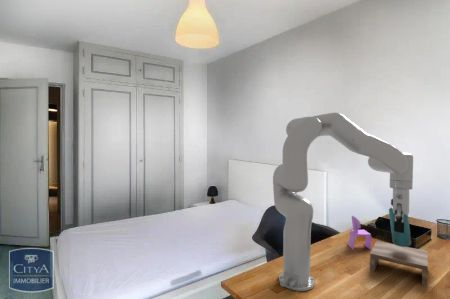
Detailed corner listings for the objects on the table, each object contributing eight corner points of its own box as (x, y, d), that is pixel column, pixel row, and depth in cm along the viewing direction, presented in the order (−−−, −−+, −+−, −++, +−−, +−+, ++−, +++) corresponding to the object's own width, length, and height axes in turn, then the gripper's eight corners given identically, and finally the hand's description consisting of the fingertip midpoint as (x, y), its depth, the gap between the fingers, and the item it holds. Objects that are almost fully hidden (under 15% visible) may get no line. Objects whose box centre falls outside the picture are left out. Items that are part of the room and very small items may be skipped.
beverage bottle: (414, 250, 103) (410, 201, 100) (395, 251, 105) (390, 203, 102) (408, 241, 109) (403, 195, 106) (389, 242, 111) (384, 197, 108)
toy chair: (373, 250, 124) (373, 218, 123) (354, 250, 124) (354, 218, 124) (364, 243, 132) (365, 213, 132) (346, 243, 133) (347, 213, 132)
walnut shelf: (427, 285, 94) (427, 266, 94) (369, 270, 105) (370, 253, 105) (427, 268, 107) (427, 251, 107) (376, 256, 118) (376, 240, 118)
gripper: (411, 188, 96) (410, 238, 96) (413, 182, 109) (412, 226, 110) (387, 186, 100) (385, 234, 101) (391, 180, 114) (390, 222, 114)
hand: (399, 229), depth 105 cm, fingers closed on beverage bottle, 5 cm apart
